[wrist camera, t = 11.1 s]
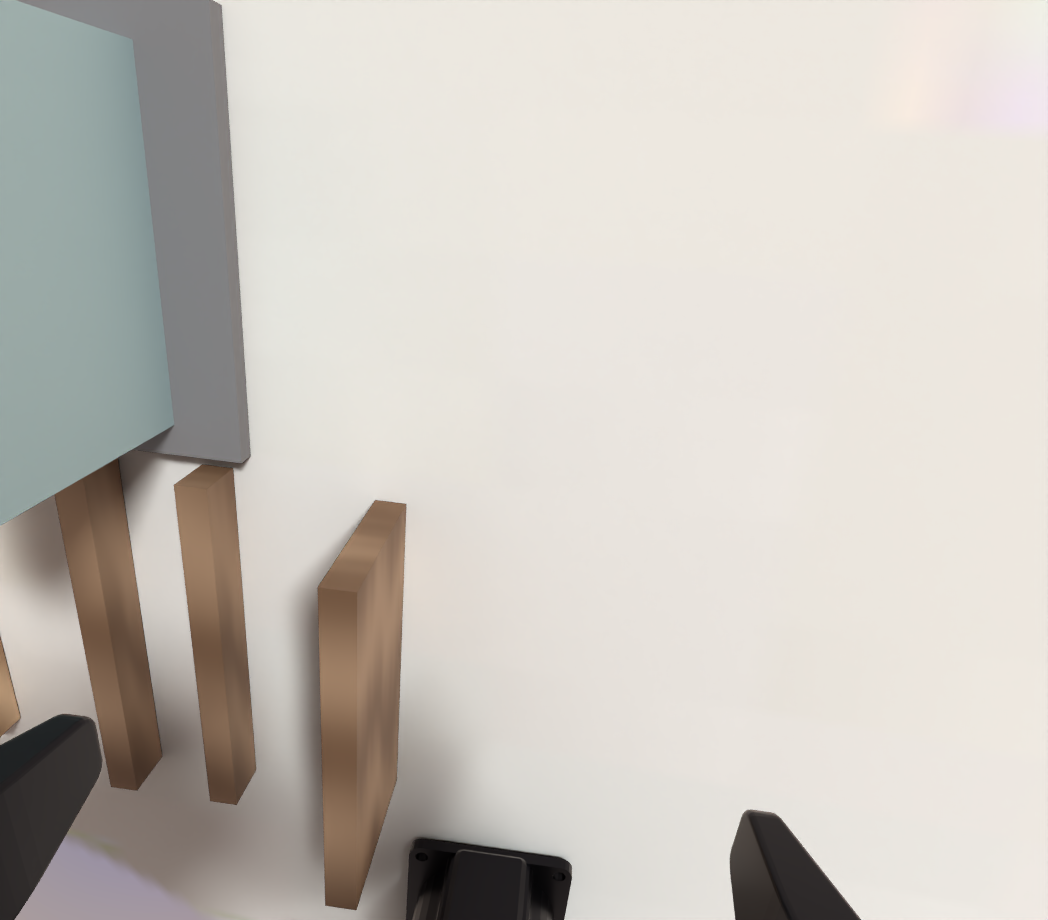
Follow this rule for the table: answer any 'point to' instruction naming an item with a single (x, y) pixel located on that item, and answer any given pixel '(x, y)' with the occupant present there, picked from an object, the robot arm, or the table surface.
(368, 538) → the walnut rack
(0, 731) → the offcut stack
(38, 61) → the grey-green rectangular slab
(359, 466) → the table surface
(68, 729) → the robot arm
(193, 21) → the rubber mat
